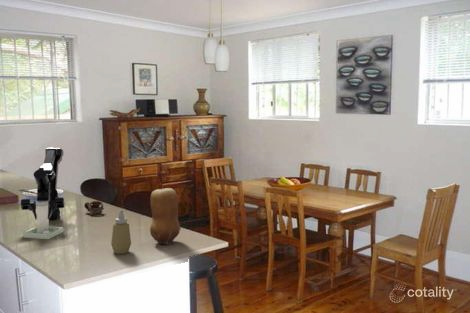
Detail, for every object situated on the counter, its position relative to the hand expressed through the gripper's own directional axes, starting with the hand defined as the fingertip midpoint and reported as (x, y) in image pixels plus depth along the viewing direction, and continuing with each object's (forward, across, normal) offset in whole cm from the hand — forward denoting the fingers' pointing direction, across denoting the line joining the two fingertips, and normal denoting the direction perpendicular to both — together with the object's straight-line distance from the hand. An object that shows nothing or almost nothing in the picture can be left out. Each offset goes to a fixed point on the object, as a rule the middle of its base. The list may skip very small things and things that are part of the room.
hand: (42, 218), depth 206 cm
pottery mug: (-22, -24, -34) cm, 47 cm away
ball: (+9, -2, -2) cm, 9 cm away
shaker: (+4, 0, -6) cm, 7 cm away
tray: (+6, 0, -6) cm, 8 cm away
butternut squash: (+24, -53, +12) cm, 59 cm away
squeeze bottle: (+29, -33, +18) cm, 47 cm away
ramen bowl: (-45, +5, -57) cm, 72 cm away
